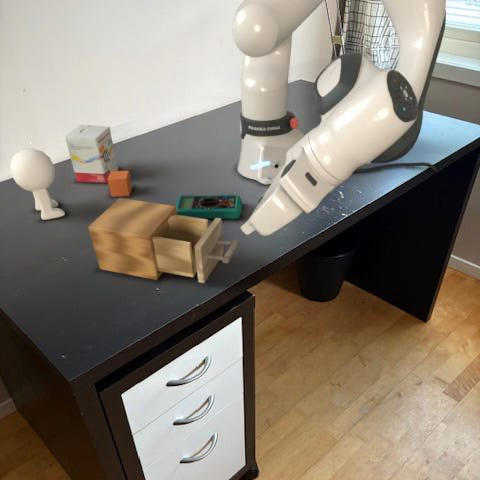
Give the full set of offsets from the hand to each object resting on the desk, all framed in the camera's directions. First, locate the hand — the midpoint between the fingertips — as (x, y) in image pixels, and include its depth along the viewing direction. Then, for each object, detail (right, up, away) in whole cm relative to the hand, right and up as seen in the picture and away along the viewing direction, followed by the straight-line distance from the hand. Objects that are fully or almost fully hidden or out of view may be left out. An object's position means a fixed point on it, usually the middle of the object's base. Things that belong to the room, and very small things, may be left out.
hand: (253, 215), depth 81 cm
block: (-32, +14, +37) cm, 51 cm away
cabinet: (-22, -5, +15) cm, 28 cm away
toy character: (-48, +7, +31) cm, 57 cm away
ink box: (-40, +20, +45) cm, 63 cm away
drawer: (-11, -7, +12) cm, 17 cm away
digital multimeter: (-10, +7, +28) cm, 31 cm away
